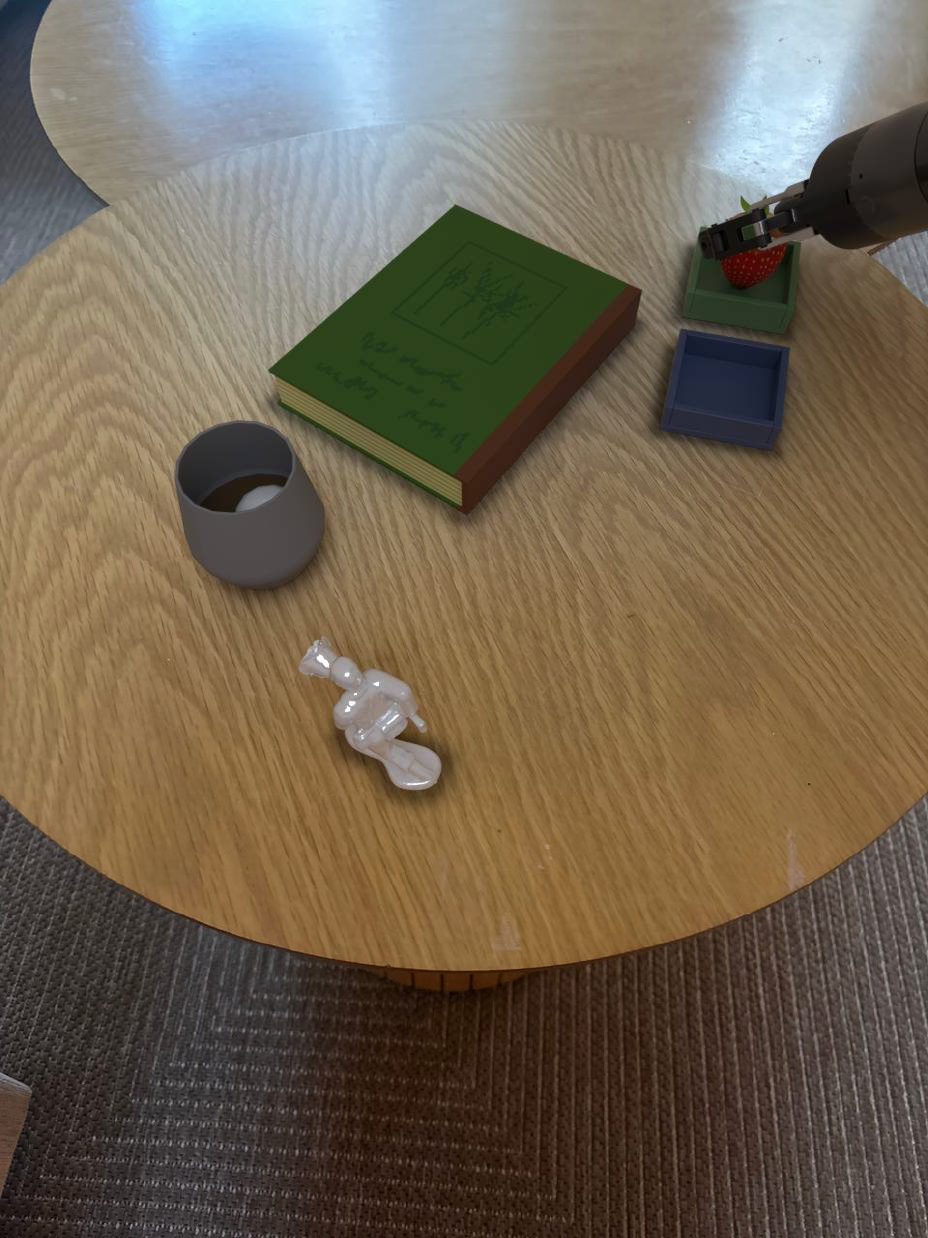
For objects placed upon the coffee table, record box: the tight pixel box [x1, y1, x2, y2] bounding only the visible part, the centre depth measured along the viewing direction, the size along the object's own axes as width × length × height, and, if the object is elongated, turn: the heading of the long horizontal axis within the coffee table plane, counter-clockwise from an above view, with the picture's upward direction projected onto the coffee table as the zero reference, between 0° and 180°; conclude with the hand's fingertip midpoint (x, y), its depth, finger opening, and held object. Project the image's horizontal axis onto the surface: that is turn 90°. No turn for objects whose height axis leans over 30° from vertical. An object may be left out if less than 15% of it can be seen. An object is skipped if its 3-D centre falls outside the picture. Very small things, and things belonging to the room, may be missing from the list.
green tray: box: [680, 225, 802, 335], centre depth 76 cm, size 9×9×3 cm
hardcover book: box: [268, 204, 643, 516], centre depth 71 cm, size 25×19×4 cm
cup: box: [173, 419, 326, 591], centre depth 59 cm, size 10×9×10 cm
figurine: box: [297, 635, 443, 791], centre depth 51 cm, size 5×9×12 cm, turn 63°
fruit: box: [721, 194, 787, 288], centre depth 73 cm, size 5×5×8 cm
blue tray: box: [658, 328, 791, 452], centre depth 70 cm, size 9×9×3 cm
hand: (744, 229), depth 73 cm, fingers open, 7 cm apart
